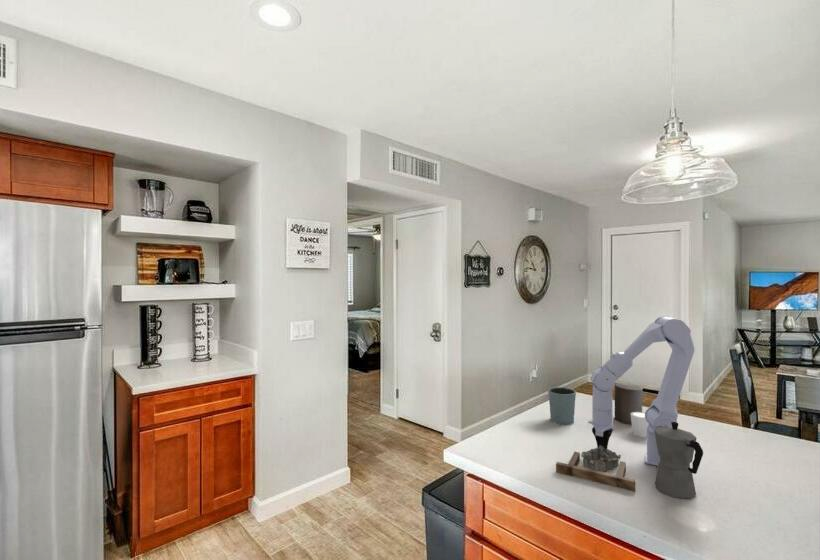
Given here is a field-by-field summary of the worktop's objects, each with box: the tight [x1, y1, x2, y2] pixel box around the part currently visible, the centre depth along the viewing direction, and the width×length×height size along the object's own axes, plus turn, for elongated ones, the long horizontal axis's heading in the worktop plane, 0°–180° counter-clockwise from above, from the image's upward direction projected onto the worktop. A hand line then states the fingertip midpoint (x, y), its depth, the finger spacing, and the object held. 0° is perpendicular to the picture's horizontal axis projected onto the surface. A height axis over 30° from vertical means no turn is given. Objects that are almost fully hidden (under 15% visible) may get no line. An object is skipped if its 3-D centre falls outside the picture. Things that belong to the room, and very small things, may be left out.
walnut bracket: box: [555, 451, 636, 492], centre depth 117 cm, size 20×12×2 cm, turn 58°
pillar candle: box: [613, 382, 644, 426], centre depth 159 cm, size 10×10×15 cm
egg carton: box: [580, 445, 622, 473], centre depth 122 cm, size 11×8×4 cm
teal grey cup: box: [547, 386, 577, 426], centre depth 159 cm, size 10×10×12 cm
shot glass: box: [631, 411, 649, 438], centre depth 146 cm, size 7×7×7 cm
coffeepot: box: [654, 422, 704, 500], centre depth 106 cm, size 15×9×18 cm, turn 6°
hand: (602, 451), depth 128 cm, fingers closed
